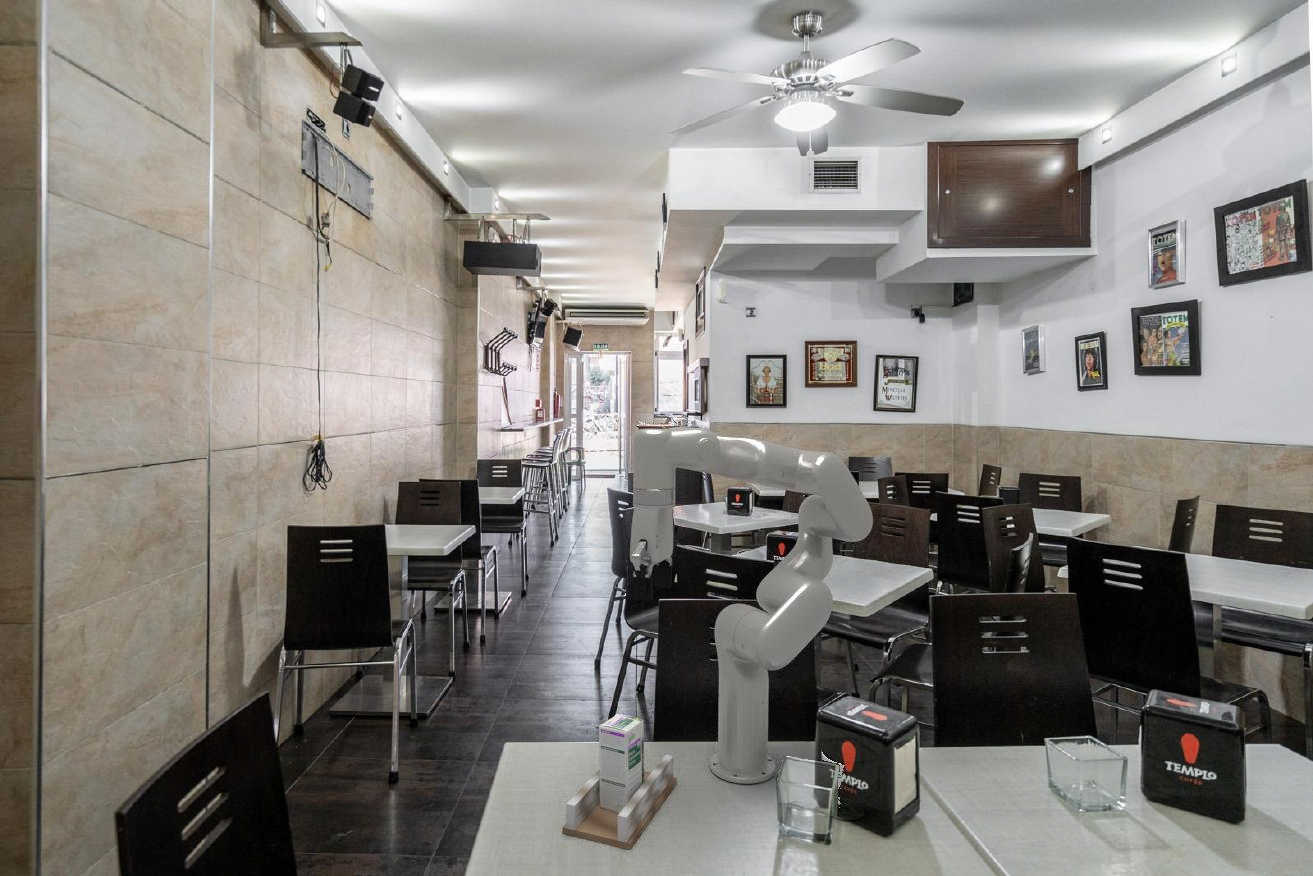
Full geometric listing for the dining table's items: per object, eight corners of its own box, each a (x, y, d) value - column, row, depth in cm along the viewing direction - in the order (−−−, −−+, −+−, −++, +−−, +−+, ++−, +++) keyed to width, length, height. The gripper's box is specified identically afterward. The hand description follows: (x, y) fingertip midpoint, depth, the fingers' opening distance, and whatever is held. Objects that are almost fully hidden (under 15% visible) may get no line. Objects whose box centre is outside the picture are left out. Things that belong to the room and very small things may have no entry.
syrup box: (627, 817, 120) (628, 731, 119) (598, 807, 123) (598, 723, 122) (644, 801, 125) (645, 719, 124) (615, 792, 128) (616, 711, 127)
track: (617, 771, 137) (617, 745, 137) (676, 783, 133) (676, 756, 133) (562, 833, 117) (562, 803, 117) (630, 849, 112) (630, 818, 112)
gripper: (652, 492, 137) (651, 581, 138) (615, 502, 121) (614, 603, 122) (689, 494, 135) (688, 584, 135) (656, 504, 118) (655, 607, 119)
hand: (653, 593), depth 128 cm, fingers open, 9 cm apart
